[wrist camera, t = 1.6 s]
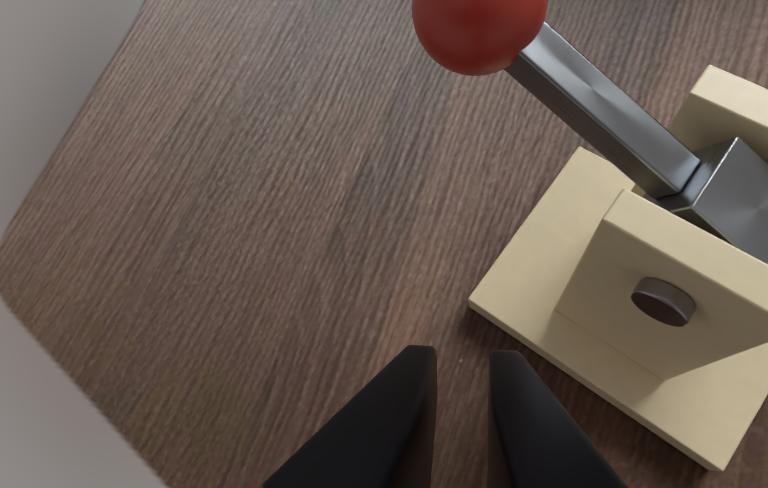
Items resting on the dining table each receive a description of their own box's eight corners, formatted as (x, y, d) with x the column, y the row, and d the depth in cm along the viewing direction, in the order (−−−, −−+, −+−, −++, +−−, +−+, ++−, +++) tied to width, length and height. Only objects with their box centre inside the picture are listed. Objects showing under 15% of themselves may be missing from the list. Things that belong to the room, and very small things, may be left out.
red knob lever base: (467, 306, 22) (461, 207, 13) (574, 159, 24) (634, -21, 15) (709, 471, 19) (925, 491, 10) (814, 288, 20) (1087, 157, 11)
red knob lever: (374, 39, 14) (401, -33, 11) (446, -43, 15) (491, -134, 12) (680, 299, 15) (784, 300, 12) (736, 212, 16) (849, 191, 13)
